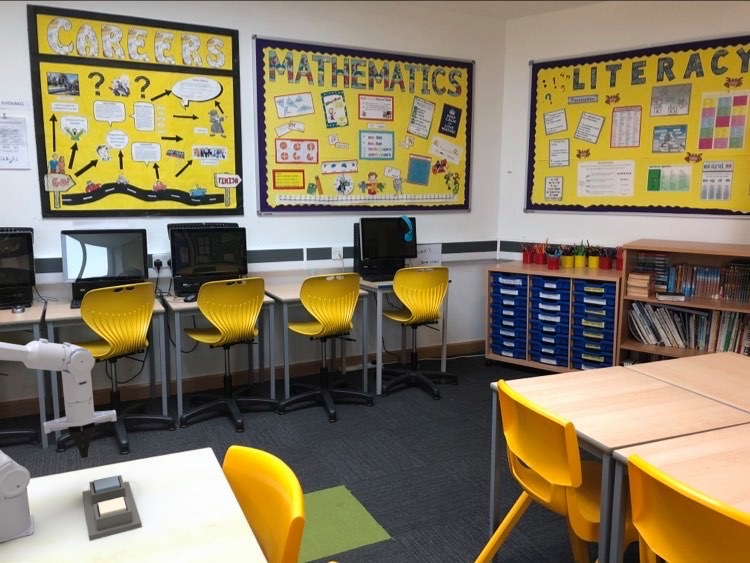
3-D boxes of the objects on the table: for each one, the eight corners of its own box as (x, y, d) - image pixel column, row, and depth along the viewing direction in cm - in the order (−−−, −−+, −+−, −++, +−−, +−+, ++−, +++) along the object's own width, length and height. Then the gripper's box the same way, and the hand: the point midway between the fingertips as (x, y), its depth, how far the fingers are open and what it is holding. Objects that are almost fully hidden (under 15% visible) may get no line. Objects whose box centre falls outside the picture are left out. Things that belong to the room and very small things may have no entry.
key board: (89, 540, 126) (88, 524, 125) (82, 495, 143) (81, 481, 142) (141, 526, 130) (140, 511, 130) (128, 485, 148) (127, 471, 147)
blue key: (96, 498, 138) (95, 490, 137) (94, 488, 142) (93, 480, 142) (120, 492, 140) (119, 484, 140) (117, 483, 144) (117, 475, 144)
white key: (101, 522, 128) (100, 514, 128) (98, 511, 132) (98, 502, 132) (126, 516, 130) (126, 507, 130) (123, 505, 135) (123, 496, 134)
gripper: (112, 387, 144) (116, 442, 147) (41, 398, 137) (47, 456, 140) (115, 397, 138) (120, 454, 141) (41, 409, 131) (48, 469, 134)
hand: (84, 456), depth 140 cm, fingers closed
